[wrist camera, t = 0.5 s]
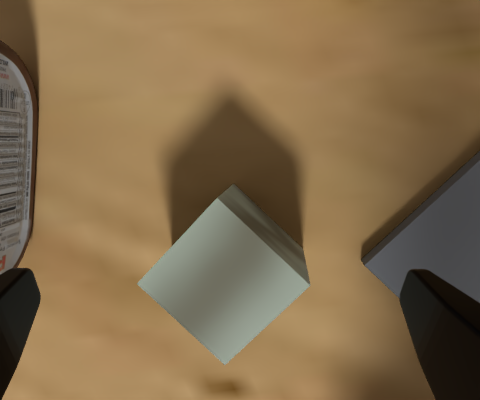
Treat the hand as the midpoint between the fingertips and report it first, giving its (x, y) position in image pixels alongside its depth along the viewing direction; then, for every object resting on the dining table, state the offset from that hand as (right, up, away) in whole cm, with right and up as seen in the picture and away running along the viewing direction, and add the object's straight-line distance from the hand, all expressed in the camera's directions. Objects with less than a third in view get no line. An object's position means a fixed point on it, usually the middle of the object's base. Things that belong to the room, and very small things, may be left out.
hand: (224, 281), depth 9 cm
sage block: (0, -1, +15) cm, 15 cm away
